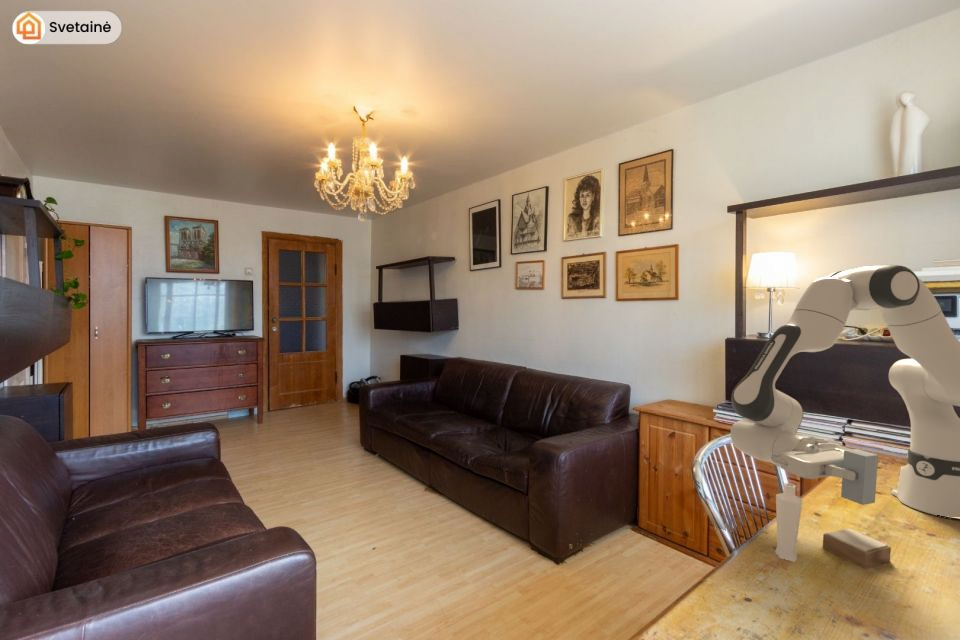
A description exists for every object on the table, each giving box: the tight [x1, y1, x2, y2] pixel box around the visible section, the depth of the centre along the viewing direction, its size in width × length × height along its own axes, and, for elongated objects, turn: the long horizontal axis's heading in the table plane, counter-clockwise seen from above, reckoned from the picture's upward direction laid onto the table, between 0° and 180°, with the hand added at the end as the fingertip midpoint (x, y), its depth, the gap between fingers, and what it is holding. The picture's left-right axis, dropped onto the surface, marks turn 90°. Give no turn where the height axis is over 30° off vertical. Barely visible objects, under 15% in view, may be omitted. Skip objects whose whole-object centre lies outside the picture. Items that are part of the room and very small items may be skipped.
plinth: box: [822, 528, 892, 569], centre depth 95 cm, size 8×8×3 cm
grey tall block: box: [840, 448, 879, 506], centre depth 94 cm, size 4×4×10 cm
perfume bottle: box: [774, 482, 803, 563], centre depth 93 cm, size 5×4×15 cm
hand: (864, 475), depth 93 cm, fingers closed on grey tall block, 4 cm apart
